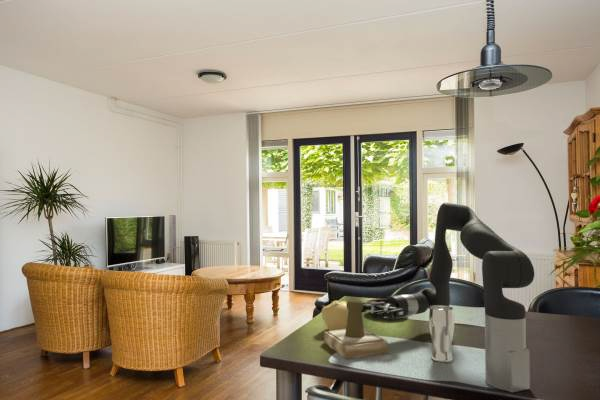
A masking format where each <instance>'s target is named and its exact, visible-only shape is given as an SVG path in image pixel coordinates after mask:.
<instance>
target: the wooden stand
mask: <svg viewBox="0 0 600 400" xmlns="http://www.w3.org/2000/svg"><path fill="white" fill-rule="evenodd" d="M345 333H346V329H341V330H333V331H330V330H328V331H327V330H326V331H323V344H325V345H326V346H328V347H329V348H331V349H332V350H334V351H335V352H336V353H337V354H339V355H340V356H341V357H343V358H344V359H346V360H350V359H351V360H352V359H358V358H363V357H364V358H365V357H370V356H377V354H379V355H383V353H385V354H388V353H389V351H388V348H389V347H388V346H389V341H388V340H387V339H384V338H382V337H380V336H378V335H377V334H375V333H373V332H371V331H369V330H367V329H366V328H364V337H361V338H351V337H347V336H346V335H345Z"/></svg>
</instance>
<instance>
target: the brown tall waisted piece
mask: <svg viewBox="0 0 600 400" xmlns="http://www.w3.org/2000/svg"><path fill="white" fill-rule="evenodd" d="M346 303H347V309H348V317H347V325H346V333H345V335H346V336H347V337H351V338H361V337H364V329H365V328H364V322H363V312H361V311H362V309H363V302H362V300H360V299H349V300H348V301H346Z"/></svg>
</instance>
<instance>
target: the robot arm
mask: <svg viewBox="0 0 600 400" xmlns="http://www.w3.org/2000/svg"><path fill="white" fill-rule="evenodd" d="M435 222H436V224H435V234H434V246H433V247H434V248H433V257H432V263H431V268H430V272H429V276H428V282H429V283H430V284H431V286H433V287H434V288H432V287H425V288H423V289H420V290H419V291H417V292H415V293H409V294H406V293H405V294H404V293H403V294H398V295H391V296H388V297H387V298H385V299H386V300H385V302H379V303H377V301H371V302H367V301H365V302H362V303H363V309H362V311H361V313H370V312H371V313H373V314H372V318H373V319H374V320H376V319H378V320H379V319H387V318H388V317H389V319H388V320H397V319H402V318H407V317H411V316H414V315H420V314H423V313H425V312H427V311H428V310H430V306H432V305H445V306H450V305H451V292H450V291H451V290H450V281H451V276H452V272H453V268H454V267H453V266H454V265H453V264H454V262H453V259H452V255H451V252H450V250H449V248H448V244H447V240H446V235H447V234H446V233H447V230H448V231H449V230H450V231H455V232H460V234H459V238H460V239H459V240H460V242H461V245H462V246H463V247H464V248H465V249H466V250H467V252H469V254H471V255H472V256H473V257H475V258H477V259H479V260H481V272H482V273H481V274H482V277H481V278H482V289H483V304H484V355H485V357H484V364H485V369H484V370H485V371H484V372H485V383H486V384H487V385H489V386H490V387H493V388H495V389H498V390H503V391H507V392H510V393H517V392H521V391H525V390H530V389H531V387H530V386H531V374H530V372H531V369H530V368H531V364H530V363H531V362H530V356H531V355H530V353H531V352H530V350H529V348H527V345H526V344H527V341H526V335H527V333H526V332H527V331H526V328H527V327H526V326H527V325H526V307H525V305H524V304H522V303H521V302H518V301H516V300H513V299H509V298H507V297H506V296H505V294H504V293H503V292H504V291H503V289H521V288H522V289H523V288H526V287H528V286H530V285H531V284H532V283H533V281H534V279H535V268H534V265H533V263H532V260H531V259H530V258H529V256H528V255H527V254H526V253H524V252H523V251H522V250H520V249H519V248H516V247H515V246H513V245H512V244H509V243H508V242H507V241H505V240H504V239H503V238H502V237H500V236H499V235H498V234H497V233H496V232H495V231H494V230H492V228H490V227H489V226H488V225H487V224H485V222H483V221H482V220H481V219H480V218H479V217H478V216H477V215H476V213H475V212H474V210H472V208H471V207H469V206H468V205H464V204H458V203H451V202H450V203H449V202H443V203H442V204H440V205H439V208H438V210H437V215H436V221H435ZM373 309H375V310H376V311H374V310H373ZM371 313H370V314H371Z"/></svg>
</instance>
